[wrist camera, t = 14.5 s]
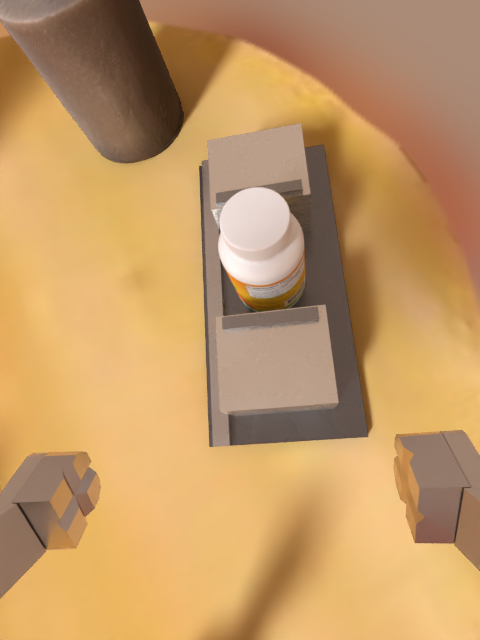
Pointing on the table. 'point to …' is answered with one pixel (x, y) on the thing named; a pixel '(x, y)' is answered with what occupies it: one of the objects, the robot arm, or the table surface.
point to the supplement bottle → (262, 249)
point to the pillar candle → (101, 71)
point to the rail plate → (337, 322)
